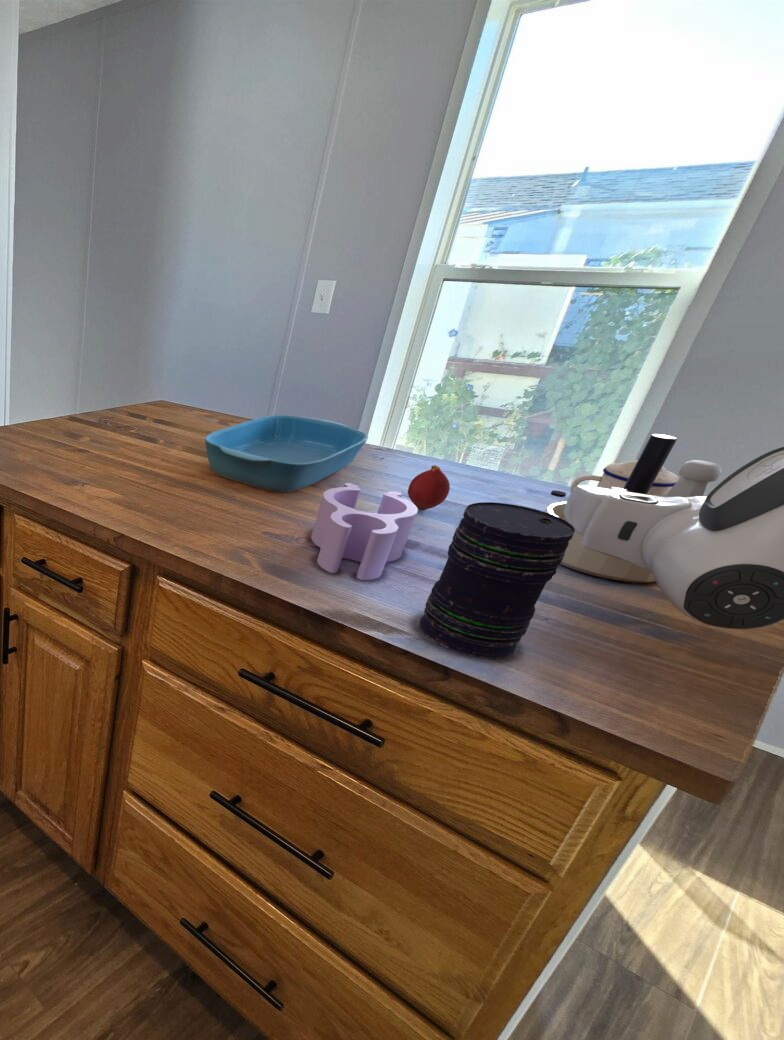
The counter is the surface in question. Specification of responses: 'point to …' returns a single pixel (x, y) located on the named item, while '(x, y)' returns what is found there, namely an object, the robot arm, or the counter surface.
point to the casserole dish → (282, 451)
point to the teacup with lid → (620, 473)
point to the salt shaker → (695, 478)
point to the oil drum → (494, 578)
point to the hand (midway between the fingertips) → (664, 501)
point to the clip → (361, 530)
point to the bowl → (597, 558)
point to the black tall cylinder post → (650, 463)
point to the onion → (429, 488)
